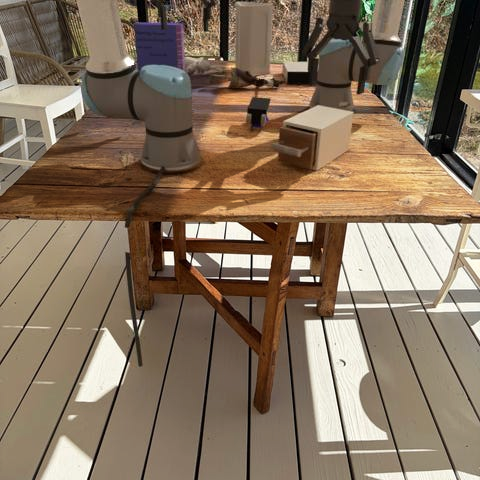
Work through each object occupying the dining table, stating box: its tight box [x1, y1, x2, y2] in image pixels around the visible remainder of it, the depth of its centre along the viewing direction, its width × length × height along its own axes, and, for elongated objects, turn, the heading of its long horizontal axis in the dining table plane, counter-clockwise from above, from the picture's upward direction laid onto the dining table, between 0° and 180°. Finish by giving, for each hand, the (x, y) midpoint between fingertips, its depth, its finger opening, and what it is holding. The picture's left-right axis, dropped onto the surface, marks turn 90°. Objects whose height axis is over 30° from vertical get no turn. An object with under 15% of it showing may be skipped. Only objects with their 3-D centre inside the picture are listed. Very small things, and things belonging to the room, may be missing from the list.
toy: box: [185, 56, 223, 76], centre depth 211 cm, size 24×25×7 cm
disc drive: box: [281, 61, 319, 85], centre depth 207 cm, size 18×22×5 cm
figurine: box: [209, 66, 287, 89], centre depth 190 cm, size 24×8×30 cm
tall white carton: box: [234, 1, 274, 77], centre depth 210 cm, size 19×15×28 cm
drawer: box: [269, 126, 318, 171], centre depth 122 cm, size 23×10×9 cm, turn 144°
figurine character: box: [245, 96, 272, 132], centre depth 148 cm, size 7×8×15 cm
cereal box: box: [133, 21, 186, 71], centre depth 182 cm, size 17×5×24 cm, turn 86°
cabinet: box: [282, 105, 354, 171], centre depth 127 cm, size 19×11×11 cm, turn 144°
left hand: (185, 30), depth 147 cm, fingers open, 13 cm apart
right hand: (335, 89), depth 123 cm, fingers open, 13 cm apart
